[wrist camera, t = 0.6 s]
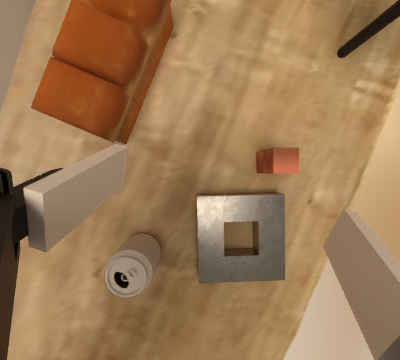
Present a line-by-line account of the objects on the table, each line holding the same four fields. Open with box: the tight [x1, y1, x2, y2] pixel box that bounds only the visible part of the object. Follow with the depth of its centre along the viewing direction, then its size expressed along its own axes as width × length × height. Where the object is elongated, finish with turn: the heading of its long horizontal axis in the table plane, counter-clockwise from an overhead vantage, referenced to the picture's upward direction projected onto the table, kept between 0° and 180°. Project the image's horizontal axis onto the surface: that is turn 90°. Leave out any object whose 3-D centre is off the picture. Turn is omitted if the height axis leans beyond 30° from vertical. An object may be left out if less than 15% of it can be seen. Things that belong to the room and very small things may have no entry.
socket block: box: [197, 192, 285, 283], centre depth 46 cm, size 16×16×4 cm
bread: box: [31, 0, 173, 144], centre depth 38 cm, size 25×12×15 cm, turn 157°
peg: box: [256, 148, 299, 174], centre depth 42 cm, size 4×4×10 cm
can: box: [104, 233, 161, 298], centre depth 41 cm, size 8×8×12 cm
